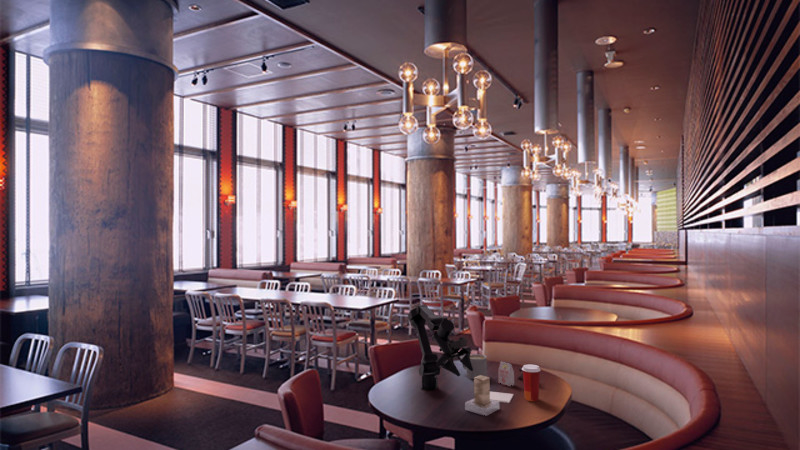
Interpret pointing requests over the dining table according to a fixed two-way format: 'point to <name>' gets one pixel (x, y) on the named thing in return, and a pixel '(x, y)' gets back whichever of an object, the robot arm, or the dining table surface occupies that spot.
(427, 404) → the dining table surface
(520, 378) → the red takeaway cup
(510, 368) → the white printed carton
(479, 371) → the coffee mug
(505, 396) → the tile
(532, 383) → the paper cup
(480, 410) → the socket
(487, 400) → the wooden peg
